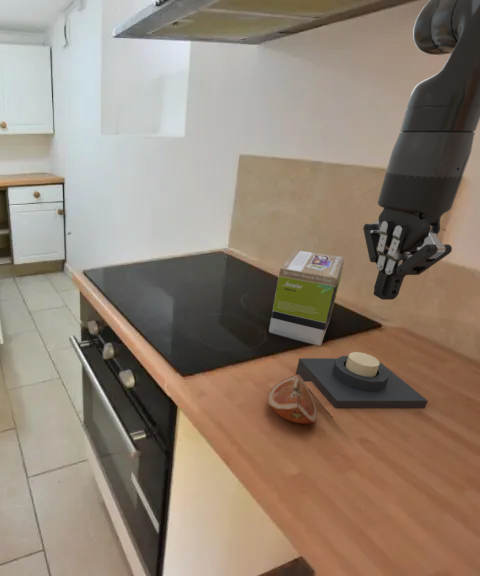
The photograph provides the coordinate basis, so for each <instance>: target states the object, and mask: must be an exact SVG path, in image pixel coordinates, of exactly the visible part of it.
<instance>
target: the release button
mask: <svg viewBox="0 0 480 576" xmlns="http://www.w3.org/2000/svg"><path fill="white" fill-rule="evenodd" d="M347 356H348V359H347V362H346V368H347V369H348V370H349V371H351V372H353V373H355V374H357V375H361V376H365V377H375V376H376V374H377V371H378V368H379V365H380V362H381V361H379V359H378V358H377V357H375V356H373V355H371V354H368V353H365V352H361V351H353V352H350V353H349V354H348V355H347Z"/></svg>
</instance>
